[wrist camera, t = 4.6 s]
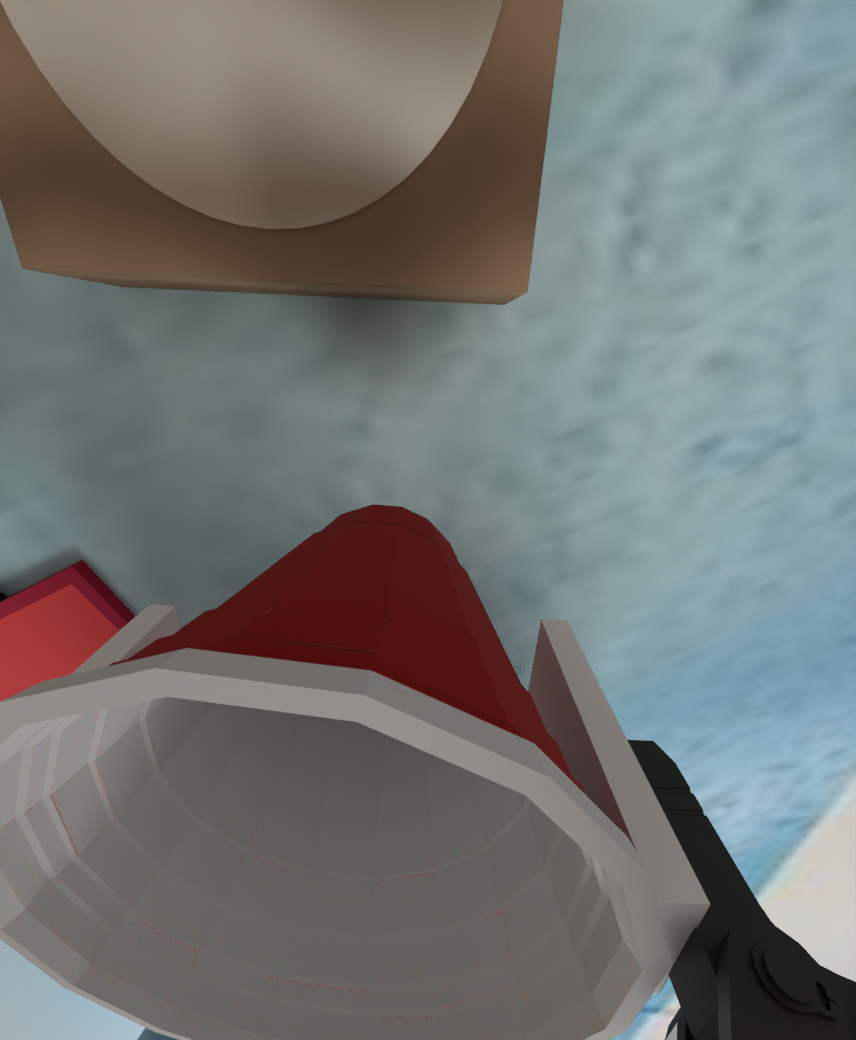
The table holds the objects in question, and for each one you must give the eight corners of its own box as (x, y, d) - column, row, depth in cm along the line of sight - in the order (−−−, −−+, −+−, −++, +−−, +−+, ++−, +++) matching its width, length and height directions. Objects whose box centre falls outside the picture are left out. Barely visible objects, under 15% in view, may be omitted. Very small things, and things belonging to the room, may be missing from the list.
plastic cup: (212, 455, 15) (-412, 748, 4) (503, 421, 14) (745, 650, 3) (285, 677, 19) (85, 1127, 8) (513, 658, 19) (636, 1111, 7)
